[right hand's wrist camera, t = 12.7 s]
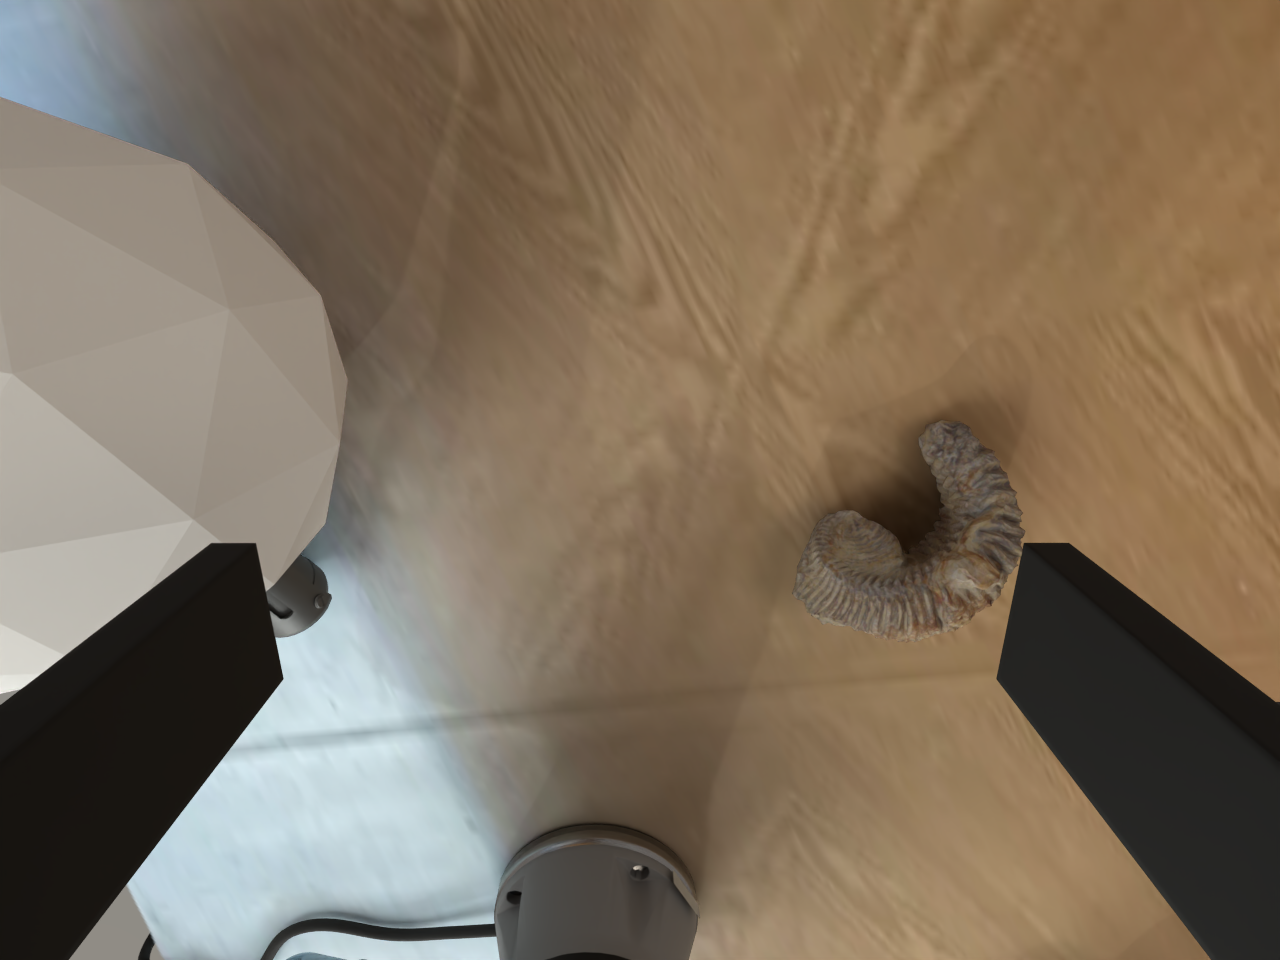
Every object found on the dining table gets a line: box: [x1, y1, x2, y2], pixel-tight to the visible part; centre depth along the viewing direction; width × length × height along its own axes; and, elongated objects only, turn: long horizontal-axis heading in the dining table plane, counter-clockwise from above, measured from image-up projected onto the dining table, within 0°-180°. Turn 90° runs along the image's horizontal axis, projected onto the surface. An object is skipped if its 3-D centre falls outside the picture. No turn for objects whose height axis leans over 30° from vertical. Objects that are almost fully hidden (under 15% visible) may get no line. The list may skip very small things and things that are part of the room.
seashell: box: [792, 420, 1025, 642], centre depth 42 cm, size 14×10×10 cm
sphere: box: [0, 97, 348, 694], centre depth 33 cm, size 23×30×24 cm
